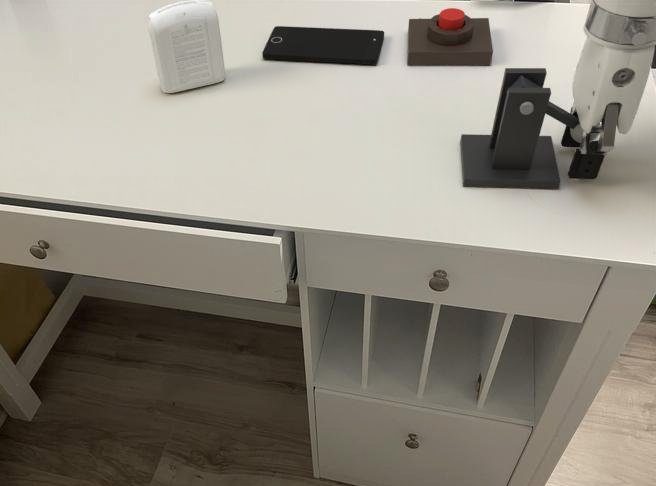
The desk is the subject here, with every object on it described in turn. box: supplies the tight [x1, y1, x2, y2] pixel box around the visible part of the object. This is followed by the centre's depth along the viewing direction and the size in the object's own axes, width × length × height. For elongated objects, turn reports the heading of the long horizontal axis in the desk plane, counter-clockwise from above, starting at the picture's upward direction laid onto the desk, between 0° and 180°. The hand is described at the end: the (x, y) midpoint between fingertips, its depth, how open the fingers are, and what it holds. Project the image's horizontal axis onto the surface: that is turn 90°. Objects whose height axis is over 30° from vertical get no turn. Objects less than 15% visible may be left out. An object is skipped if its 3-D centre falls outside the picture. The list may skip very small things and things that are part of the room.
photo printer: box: [147, 0, 226, 94], centre depth 97 cm, size 10×4×12 cm, turn 106°
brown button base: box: [406, 13, 494, 66], centre depth 100 cm, size 12×10×4 cm
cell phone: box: [261, 25, 385, 66], centre depth 105 cm, size 9×18×1 cm, turn 75°
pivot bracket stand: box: [459, 67, 562, 190], centre depth 79 cm, size 11×9×12 cm
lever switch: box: [507, 76, 601, 143], centre depth 77 cm, size 12×3×3 cm
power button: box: [438, 7, 466, 30], centre depth 98 cm, size 4×4×2 cm
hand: (578, 160), depth 81 cm, fingers open, 5 cm apart
